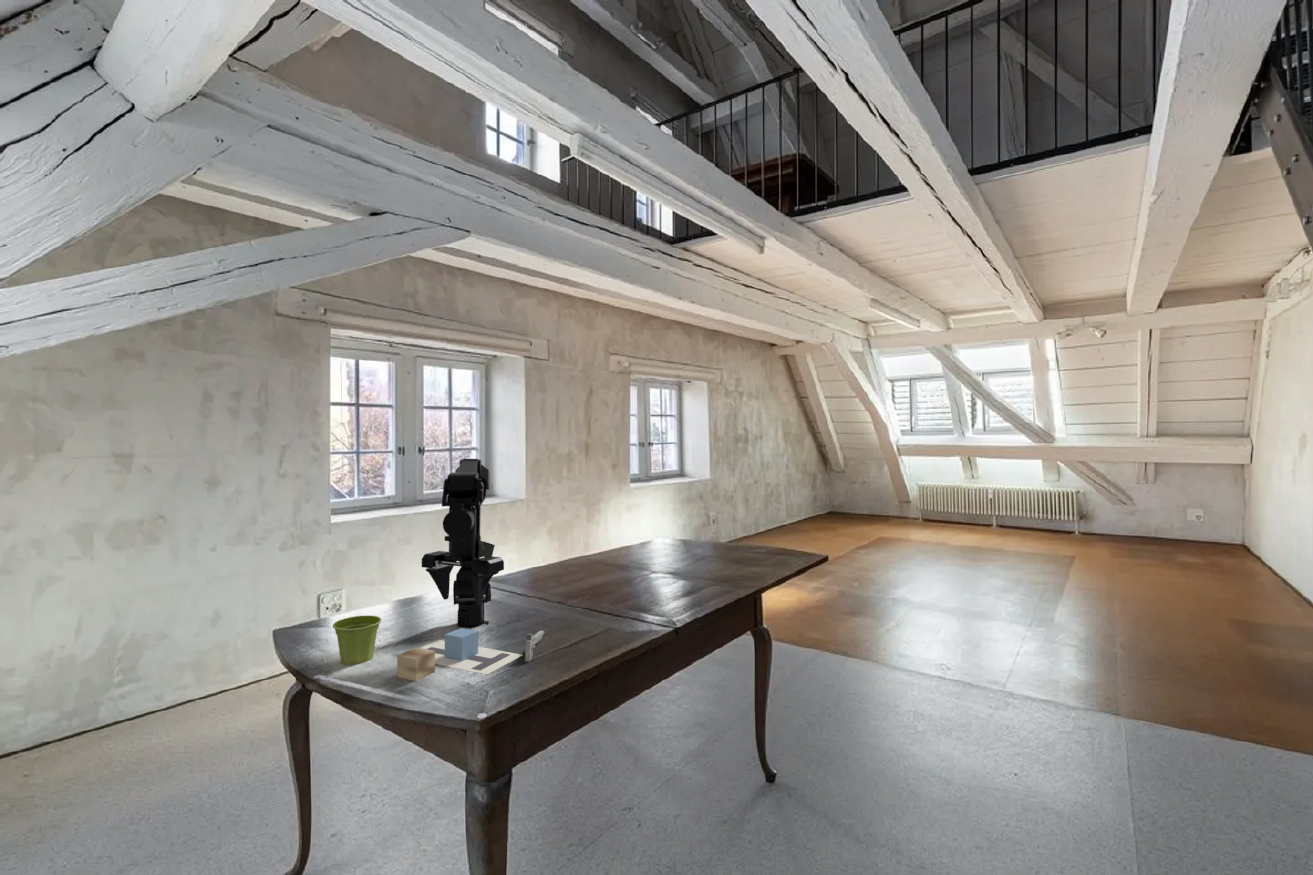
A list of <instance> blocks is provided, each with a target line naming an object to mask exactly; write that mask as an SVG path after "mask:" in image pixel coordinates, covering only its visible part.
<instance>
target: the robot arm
mask: <svg viewBox="0 0 1313 875" xmlns="http://www.w3.org/2000/svg"><path fill="white" fill-rule="evenodd" d="M490 479H491V477H490V470H489V469H488V468H487V467H485V465H483V464H482V460H481V459H479V458H463V459H460V460H459V466H458V467H457V468H456V469H455V472H450V473H448V474H447V477H446V478H445V479H444V481H443V488H442V489H443V490H442V498H441V499H442V500H441V507H448V508H449V509H448V512H447V513H446V515H444V517H443V521H442V528H443V530H444V533H446V535H445V536H444V541H445V542H448V551H443V550H437V551H433V552H428V553H424V554H423V556H422V558H421V568H425V572H428V574H429V575H430V577H431V578H432V580H433V581H434V583H435V586H436V588H437V590H438V591H439V593H440V595H441V597H442V599H443V600H448V599H449V596H450V584H451V583H450V582H451V580H450V579H451V578H450V576H451V572H452V570H453V569H454V567H459V570H458V571H457V572H456V575H455V579H454V580H453V584H452V586H453V587H452V591H453V592H452V595H453V605H457V606H458V608H457V609H458V610H457V623H455V624H453V626H454V627H455V626H456V627H459V628H464V629H475V628H477V627H480V626H483V625H488V624H490V622H489V620H485V604H488V603H489V602H491V601H492V585H491V583H490V581H491V579H492V578H493V576H494V575H498V574H499V572H501V571H504V570H505V561H504V559H503V558H502V557H501V556H493V554H494V550H495V544H493V543H490V542H487V541H484V540H483V541H482V536H481V514H482V513H481V511H482V510H481V507H482V505H483V503H484V502H485V500H486V498H487V497H488V491H490V485H491V484H490V483H491V481H490Z"/></svg>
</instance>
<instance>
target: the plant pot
mask: <svg viewBox="0 0 1313 875" xmlns="http://www.w3.org/2000/svg"><path fill="white" fill-rule="evenodd" d="M381 623H382V618H381V617H379V616H377V615H369V614H368V615H367V614H366V615H357V616H350V617H349V616H348V617H346V618H342V619H339V620H337V621H335V622H334V623H333V624H332V628H333V629H334V632H335V634H336V636H337V643H338V649H339V650H338V652H339V657H340V664H343V665H358V664H364V663H366V662H369V661H371V660H373V658H374V652H375V645H376V641H377V640H376V639H377V634H378V630H379V627H380V624H381Z"/></svg>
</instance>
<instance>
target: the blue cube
mask: <svg viewBox="0 0 1313 875" xmlns="http://www.w3.org/2000/svg"><path fill="white" fill-rule="evenodd" d="M479 633H480V632H479V630H474V629H471V628H464V627H459V628H458V629H455V630H453V631H450V632H448V633H445V634H444V640H445V658H449V659H454V660H459V661H464V660H466V659H468V658H470V657H472V656H474V655H476V654H478V647H479Z"/></svg>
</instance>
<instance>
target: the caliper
mask: <svg viewBox="0 0 1313 875" xmlns="http://www.w3.org/2000/svg"><path fill="white" fill-rule="evenodd" d="M544 631H545V630H539V631H538V632H536V633H535V634H534V635H533V633H527V634H526V640H525V650H524V651H525V656H524V657H525V658H524V659H525V660H524V661H525V662H526V663H527V662H529V663H530V662H531V659H532V658H533V652H534V649H536V645H537V644H538V642H540V641H541V639H542V637H543V635H544V633H545V632H544Z"/></svg>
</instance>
